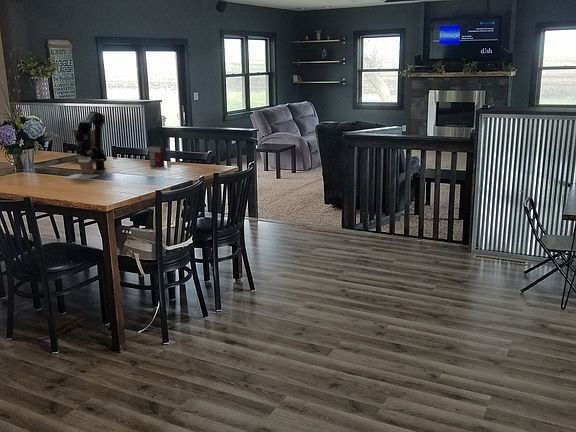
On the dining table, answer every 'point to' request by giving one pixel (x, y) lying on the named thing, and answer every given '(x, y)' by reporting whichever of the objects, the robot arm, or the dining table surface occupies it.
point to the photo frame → (90, 135)
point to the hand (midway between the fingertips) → (88, 163)
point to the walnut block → (86, 165)
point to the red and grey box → (156, 156)
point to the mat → (80, 176)
